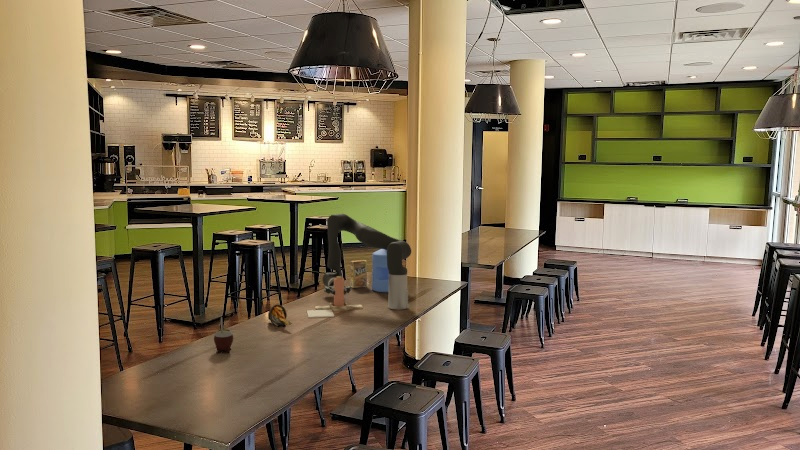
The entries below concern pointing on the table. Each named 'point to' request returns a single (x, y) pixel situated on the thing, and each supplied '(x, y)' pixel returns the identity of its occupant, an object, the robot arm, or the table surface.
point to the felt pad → (319, 313)
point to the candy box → (358, 273)
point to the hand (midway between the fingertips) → (339, 292)
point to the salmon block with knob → (339, 291)
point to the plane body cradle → (338, 307)
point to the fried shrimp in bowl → (278, 315)
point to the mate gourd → (223, 339)
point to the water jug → (380, 271)
